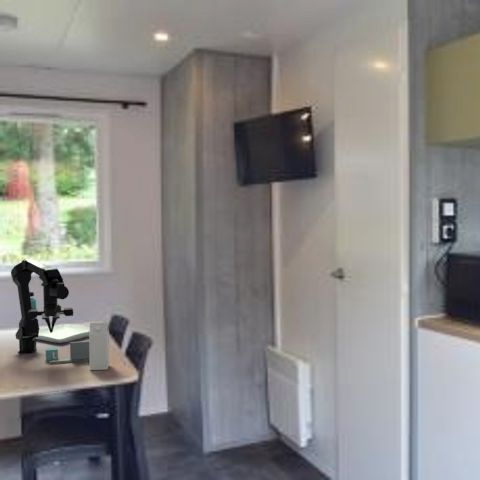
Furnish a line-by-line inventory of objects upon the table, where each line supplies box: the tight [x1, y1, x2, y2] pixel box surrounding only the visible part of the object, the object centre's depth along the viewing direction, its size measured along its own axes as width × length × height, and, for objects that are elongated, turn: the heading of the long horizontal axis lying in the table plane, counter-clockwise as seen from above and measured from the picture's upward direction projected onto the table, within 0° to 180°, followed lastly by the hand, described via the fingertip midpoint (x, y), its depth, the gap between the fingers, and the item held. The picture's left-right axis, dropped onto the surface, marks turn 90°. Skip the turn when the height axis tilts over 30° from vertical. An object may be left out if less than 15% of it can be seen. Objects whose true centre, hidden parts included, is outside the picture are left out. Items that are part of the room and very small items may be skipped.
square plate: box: [35, 323, 90, 344], centre depth 305 cm, size 27×27×4 cm
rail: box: [48, 357, 90, 365], centre depth 259 cm, size 21×4×1 cm, turn 107°
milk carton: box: [88, 321, 110, 371], centre depth 248 cm, size 7×7×19 cm
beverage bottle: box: [30, 291, 38, 319], centre depth 325 cm, size 6×7×20 cm
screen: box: [69, 340, 89, 359], centre depth 260 cm, size 12×1×7 cm, turn 107°
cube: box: [45, 346, 59, 362], centre depth 261 cm, size 5×5×5 cm
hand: (51, 332), depth 261 cm, fingers closed
